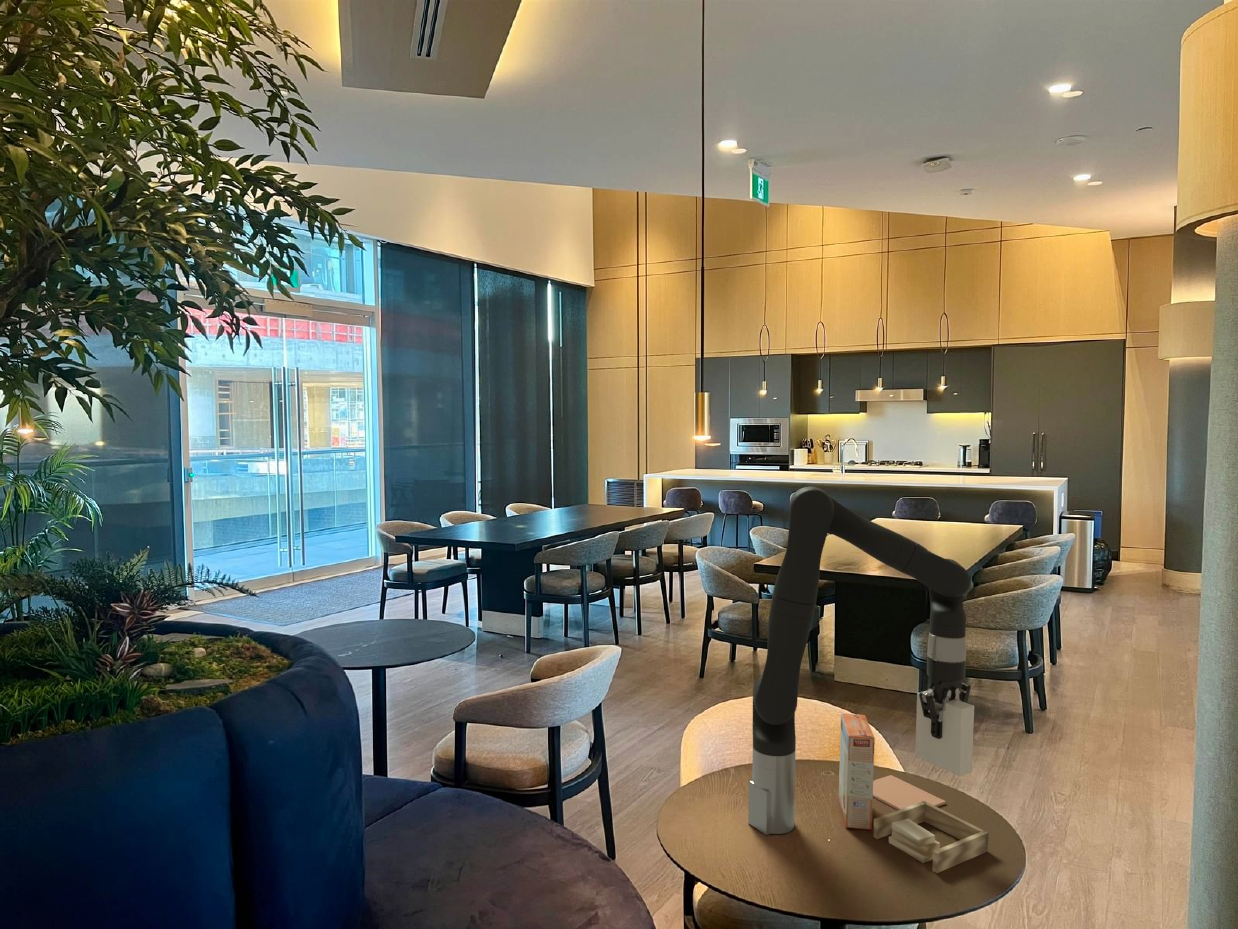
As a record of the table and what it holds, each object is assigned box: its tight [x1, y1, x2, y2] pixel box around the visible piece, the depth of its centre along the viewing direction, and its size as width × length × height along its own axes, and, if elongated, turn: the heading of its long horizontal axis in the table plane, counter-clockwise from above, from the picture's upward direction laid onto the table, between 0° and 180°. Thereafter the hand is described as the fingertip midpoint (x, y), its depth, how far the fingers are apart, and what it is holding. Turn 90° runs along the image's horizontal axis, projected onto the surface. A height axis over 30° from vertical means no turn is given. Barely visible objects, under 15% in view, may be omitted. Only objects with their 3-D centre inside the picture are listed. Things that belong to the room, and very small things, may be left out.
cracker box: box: [838, 713, 876, 831], centre depth 183 cm, size 14×6×21 cm, turn 171°
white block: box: [914, 690, 975, 777], centre depth 171 cm, size 4×11×14 cm, turn 30°
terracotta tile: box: [873, 774, 947, 811], centre depth 193 cm, size 12×16×1 cm
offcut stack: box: [888, 819, 941, 864], centre depth 169 cm, size 5×9×4 cm, turn 29°
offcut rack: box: [873, 801, 989, 874], centre depth 171 cm, size 16×16×4 cm
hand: (943, 735), depth 171 cm, fingers closed on white block, 4 cm apart
